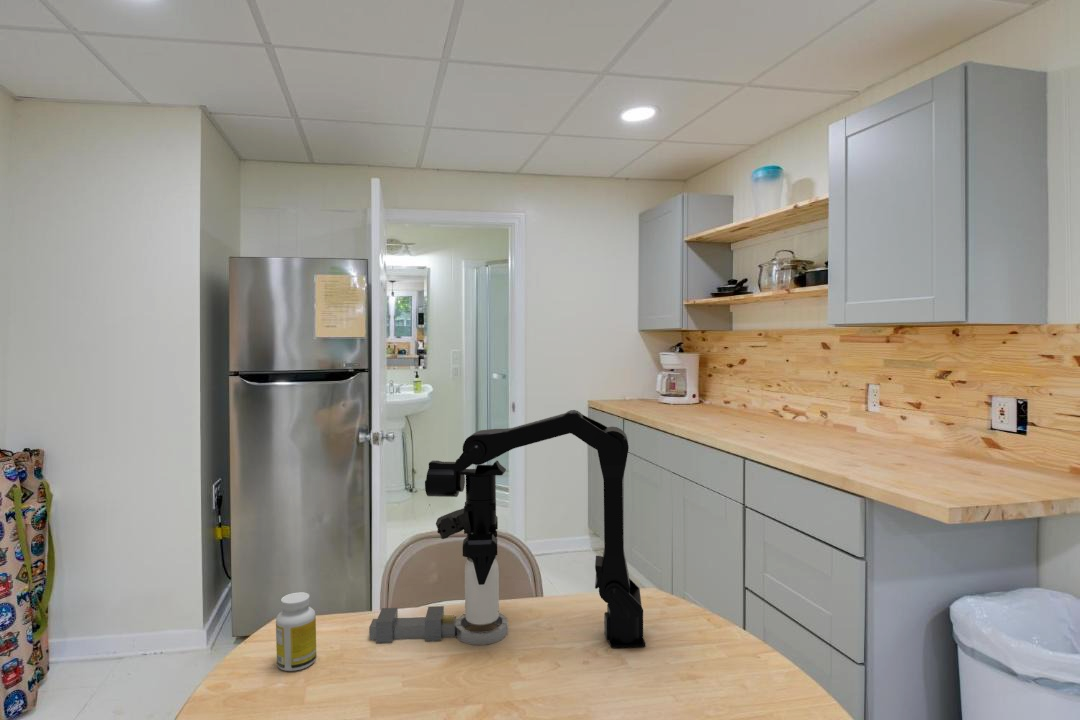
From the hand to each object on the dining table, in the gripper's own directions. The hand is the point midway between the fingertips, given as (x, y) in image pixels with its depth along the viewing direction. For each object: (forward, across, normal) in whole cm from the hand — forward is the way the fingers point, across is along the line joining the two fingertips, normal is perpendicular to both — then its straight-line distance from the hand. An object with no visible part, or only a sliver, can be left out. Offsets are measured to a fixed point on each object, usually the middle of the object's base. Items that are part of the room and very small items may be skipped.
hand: (481, 577), depth 118 cm
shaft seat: (+11, 0, -8) cm, 13 cm away
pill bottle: (+11, +9, -32) cm, 35 cm away
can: (+8, 0, 0) cm, 8 cm away
